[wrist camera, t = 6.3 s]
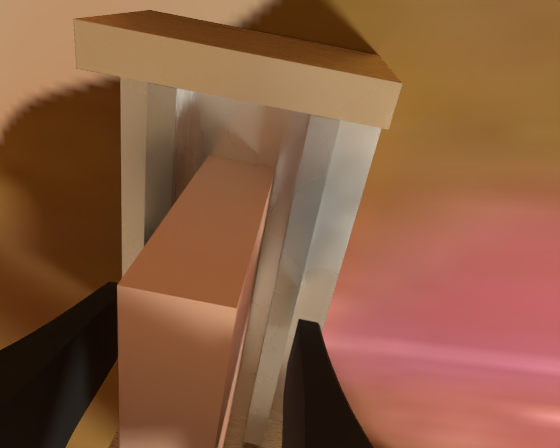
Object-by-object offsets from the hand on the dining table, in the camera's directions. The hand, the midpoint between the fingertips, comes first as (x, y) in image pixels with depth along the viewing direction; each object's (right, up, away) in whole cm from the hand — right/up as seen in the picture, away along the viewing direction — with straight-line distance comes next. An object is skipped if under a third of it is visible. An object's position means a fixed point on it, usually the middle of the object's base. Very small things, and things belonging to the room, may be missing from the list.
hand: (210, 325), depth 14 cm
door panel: (0, +1, +2) cm, 3 cm away
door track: (0, +2, +3) cm, 4 cm away
